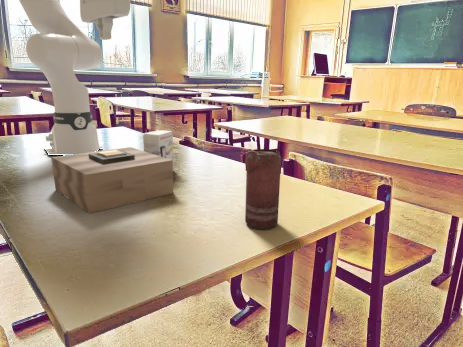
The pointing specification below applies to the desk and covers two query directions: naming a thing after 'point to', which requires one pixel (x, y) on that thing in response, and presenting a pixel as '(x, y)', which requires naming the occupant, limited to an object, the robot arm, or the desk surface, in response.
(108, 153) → the peg
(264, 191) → the can
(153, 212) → the desk surface
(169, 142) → the ink box
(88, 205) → the sleeve block
